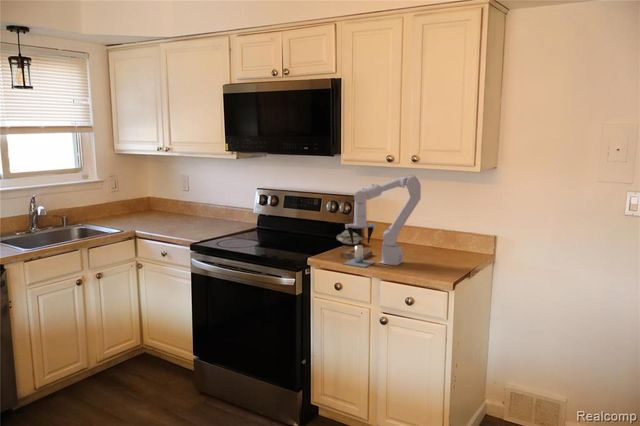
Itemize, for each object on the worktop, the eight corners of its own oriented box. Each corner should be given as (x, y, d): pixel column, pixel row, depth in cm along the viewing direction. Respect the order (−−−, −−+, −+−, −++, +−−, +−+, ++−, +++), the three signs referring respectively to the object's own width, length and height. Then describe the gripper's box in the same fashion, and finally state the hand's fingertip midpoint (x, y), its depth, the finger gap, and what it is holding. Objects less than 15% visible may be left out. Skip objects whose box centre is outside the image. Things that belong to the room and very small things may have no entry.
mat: (374, 262, 248) (374, 261, 248) (365, 267, 240) (365, 266, 240) (353, 259, 254) (353, 258, 254) (342, 264, 246) (342, 263, 246)
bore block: (372, 255, 263) (372, 250, 263) (361, 260, 253) (361, 255, 253) (351, 252, 269) (351, 247, 269) (340, 257, 260) (340, 252, 259)
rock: (331, 239, 289) (337, 224, 292) (338, 248, 296) (345, 233, 299) (357, 244, 278) (364, 228, 281) (365, 252, 284) (371, 237, 288)
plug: (364, 261, 248) (364, 245, 246) (360, 263, 245) (360, 247, 243) (357, 260, 250) (357, 244, 249) (353, 262, 247) (353, 246, 245)
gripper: (374, 213, 249) (374, 240, 251) (345, 214, 250) (345, 241, 252) (375, 216, 242) (375, 244, 244) (345, 216, 243) (345, 244, 245)
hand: (360, 242), depth 248 cm, fingers open, 7 cm apart
